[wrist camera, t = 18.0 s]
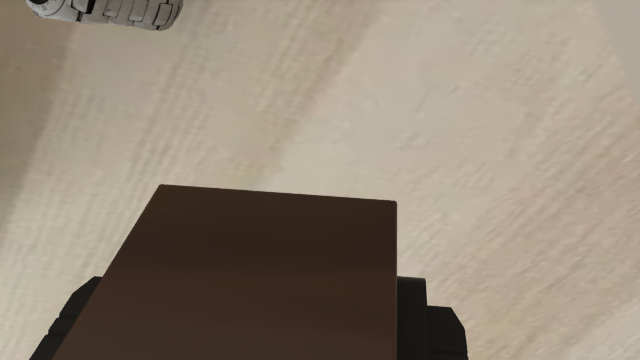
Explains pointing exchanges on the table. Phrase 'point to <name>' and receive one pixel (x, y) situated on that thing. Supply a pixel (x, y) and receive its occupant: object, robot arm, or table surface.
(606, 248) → the table surface
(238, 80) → the table surface
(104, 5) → the silver wristwatch
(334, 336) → the tile
